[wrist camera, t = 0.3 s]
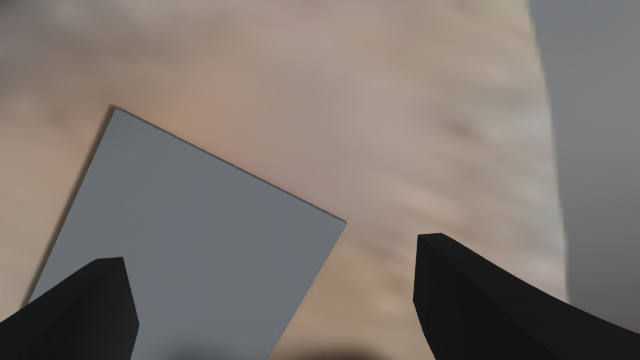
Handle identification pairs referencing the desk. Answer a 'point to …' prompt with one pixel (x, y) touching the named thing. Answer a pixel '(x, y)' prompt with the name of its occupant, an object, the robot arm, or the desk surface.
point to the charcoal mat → (192, 244)
